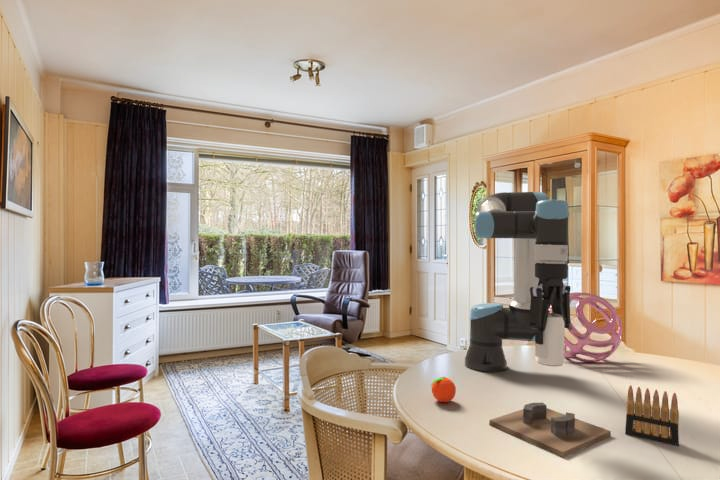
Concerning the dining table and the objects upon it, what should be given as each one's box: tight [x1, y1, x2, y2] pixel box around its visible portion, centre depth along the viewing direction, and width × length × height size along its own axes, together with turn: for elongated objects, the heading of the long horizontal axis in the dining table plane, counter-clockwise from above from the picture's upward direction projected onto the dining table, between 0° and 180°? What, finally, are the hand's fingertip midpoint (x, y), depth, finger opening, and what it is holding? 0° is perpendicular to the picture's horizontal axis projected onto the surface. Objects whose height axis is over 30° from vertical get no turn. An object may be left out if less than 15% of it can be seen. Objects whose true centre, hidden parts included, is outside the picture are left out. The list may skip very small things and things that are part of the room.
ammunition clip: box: [624, 384, 680, 447], centre depth 106 cm, size 11×2×12 cm, turn 56°
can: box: [535, 312, 566, 367], centre depth 109 cm, size 6×6×12 cm
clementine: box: [430, 376, 457, 403], centre depth 128 cm, size 8×7×7 cm
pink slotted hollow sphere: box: [549, 291, 623, 363], centre depth 178 cm, size 28×28×27 cm
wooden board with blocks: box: [488, 402, 612, 458], centre depth 109 cm, size 20×20×5 cm
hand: (549, 355), depth 109 cm, fingers closed on can, 6 cm apart
